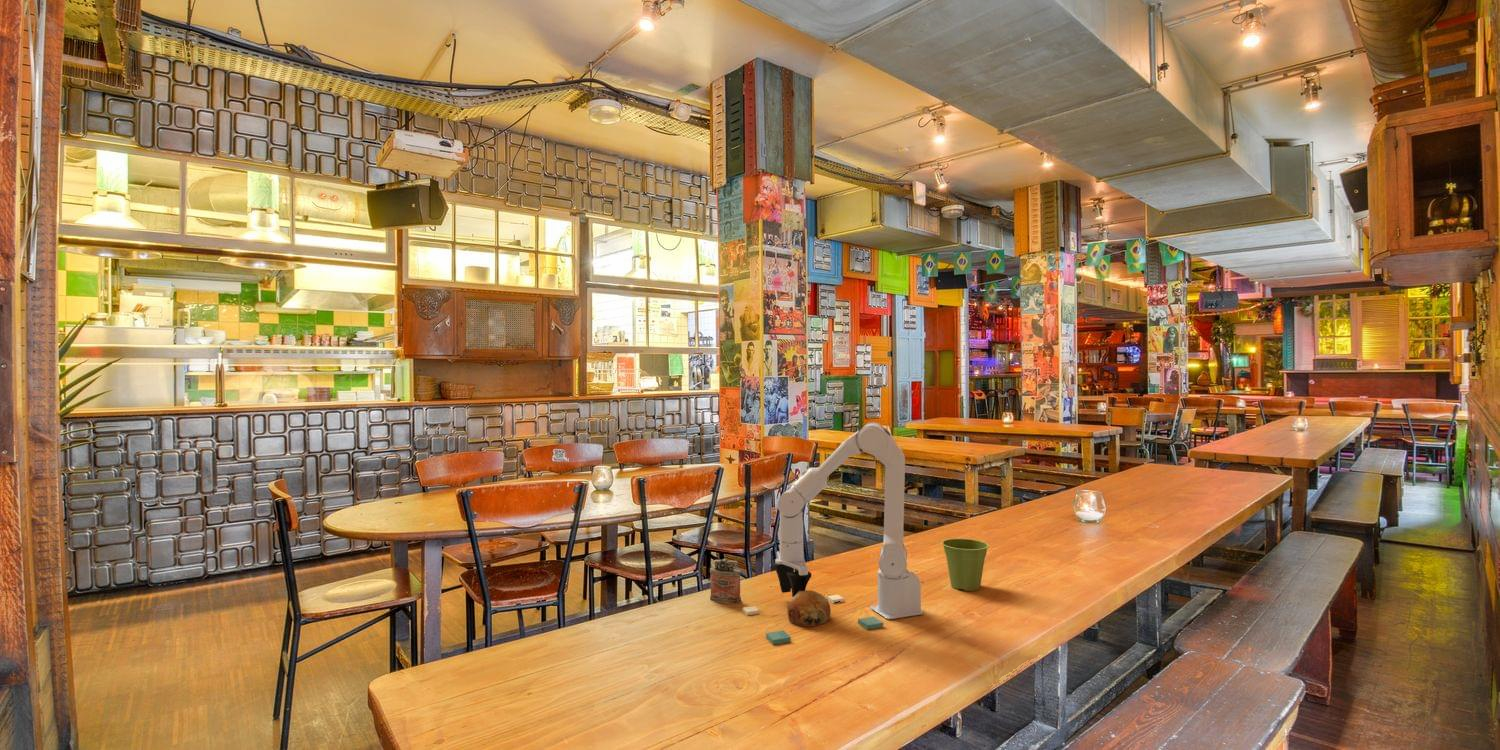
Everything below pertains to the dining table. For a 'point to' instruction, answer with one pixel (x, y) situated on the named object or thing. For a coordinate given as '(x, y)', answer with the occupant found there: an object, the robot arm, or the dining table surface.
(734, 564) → the lighter
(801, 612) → the bread roll
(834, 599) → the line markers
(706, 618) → the dining table surface
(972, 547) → the plant pot
